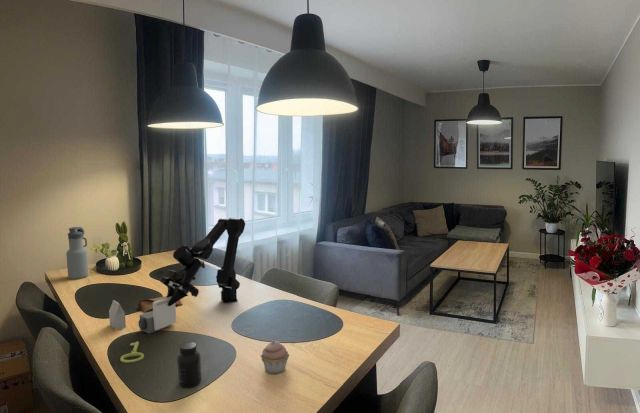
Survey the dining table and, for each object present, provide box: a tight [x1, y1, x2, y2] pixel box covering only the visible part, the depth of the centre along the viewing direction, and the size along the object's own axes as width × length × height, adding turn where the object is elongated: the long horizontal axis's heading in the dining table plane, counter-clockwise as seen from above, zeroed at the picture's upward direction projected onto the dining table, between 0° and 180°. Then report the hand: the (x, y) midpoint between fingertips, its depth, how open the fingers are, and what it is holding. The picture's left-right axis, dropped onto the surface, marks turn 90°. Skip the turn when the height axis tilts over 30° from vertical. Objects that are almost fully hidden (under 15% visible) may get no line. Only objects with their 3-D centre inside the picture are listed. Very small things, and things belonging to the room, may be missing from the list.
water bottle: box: [66, 226, 89, 280], centre depth 227 cm, size 10×10×28 cm
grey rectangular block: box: [137, 311, 173, 334], centre depth 163 cm, size 11×6×6 cm, turn 144°
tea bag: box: [108, 299, 127, 331], centre depth 164 cm, size 4×7×10 cm, turn 46°
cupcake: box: [260, 339, 290, 375], centre depth 132 cm, size 9×9×10 cm
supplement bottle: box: [176, 341, 203, 389], centre depth 124 cm, size 7×7×12 cm
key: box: [120, 341, 145, 364], centre depth 142 cm, size 7×12×2 cm, turn 33°
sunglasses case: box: [138, 295, 184, 314], centre depth 186 cm, size 18×7×7 cm, turn 125°
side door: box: [153, 296, 177, 331], centre depth 162 cm, size 9×2×11 cm, turn 144°
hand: (167, 305), depth 162 cm, fingers closed on side door, 2 cm apart
